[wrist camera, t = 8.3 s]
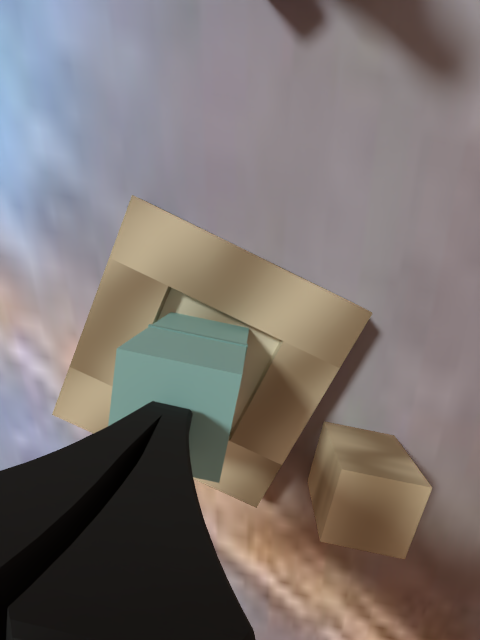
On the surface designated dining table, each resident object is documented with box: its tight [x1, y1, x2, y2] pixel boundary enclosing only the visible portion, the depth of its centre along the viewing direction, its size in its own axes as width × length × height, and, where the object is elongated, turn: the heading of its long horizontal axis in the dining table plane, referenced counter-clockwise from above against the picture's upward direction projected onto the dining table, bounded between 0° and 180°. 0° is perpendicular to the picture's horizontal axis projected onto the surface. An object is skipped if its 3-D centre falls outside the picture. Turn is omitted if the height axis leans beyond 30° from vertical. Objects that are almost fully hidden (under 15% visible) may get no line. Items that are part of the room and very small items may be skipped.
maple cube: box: [308, 422, 432, 559], centre depth 16 cm, size 4×4×4 cm
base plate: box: [52, 195, 372, 508], centre depth 16 cm, size 12×12×2 cm
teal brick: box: [108, 312, 249, 483], centre depth 13 cm, size 4×4×6 cm
